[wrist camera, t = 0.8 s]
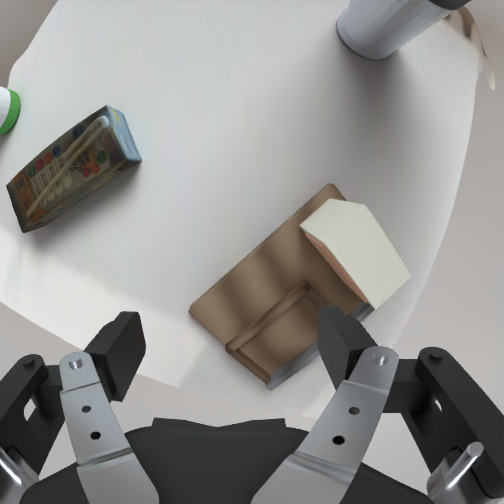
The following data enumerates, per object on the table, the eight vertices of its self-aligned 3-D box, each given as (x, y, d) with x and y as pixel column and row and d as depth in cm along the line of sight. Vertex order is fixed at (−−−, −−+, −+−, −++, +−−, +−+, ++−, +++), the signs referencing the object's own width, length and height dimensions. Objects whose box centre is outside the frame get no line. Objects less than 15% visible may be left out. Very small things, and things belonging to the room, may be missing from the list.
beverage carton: (146, 163, 32) (127, 159, 26) (45, 228, 33) (18, 237, 27) (125, 112, 30) (104, 99, 24) (29, 183, 31) (1, 185, 25)
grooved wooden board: (328, 183, 34) (339, 184, 30) (392, 273, 37) (406, 281, 34) (190, 305, 37) (185, 319, 33) (269, 375, 40) (272, 391, 36)
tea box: (329, 198, 32) (365, 204, 23) (369, 252, 34) (411, 275, 25) (297, 227, 33) (321, 245, 23) (340, 279, 35) (373, 312, 25)
